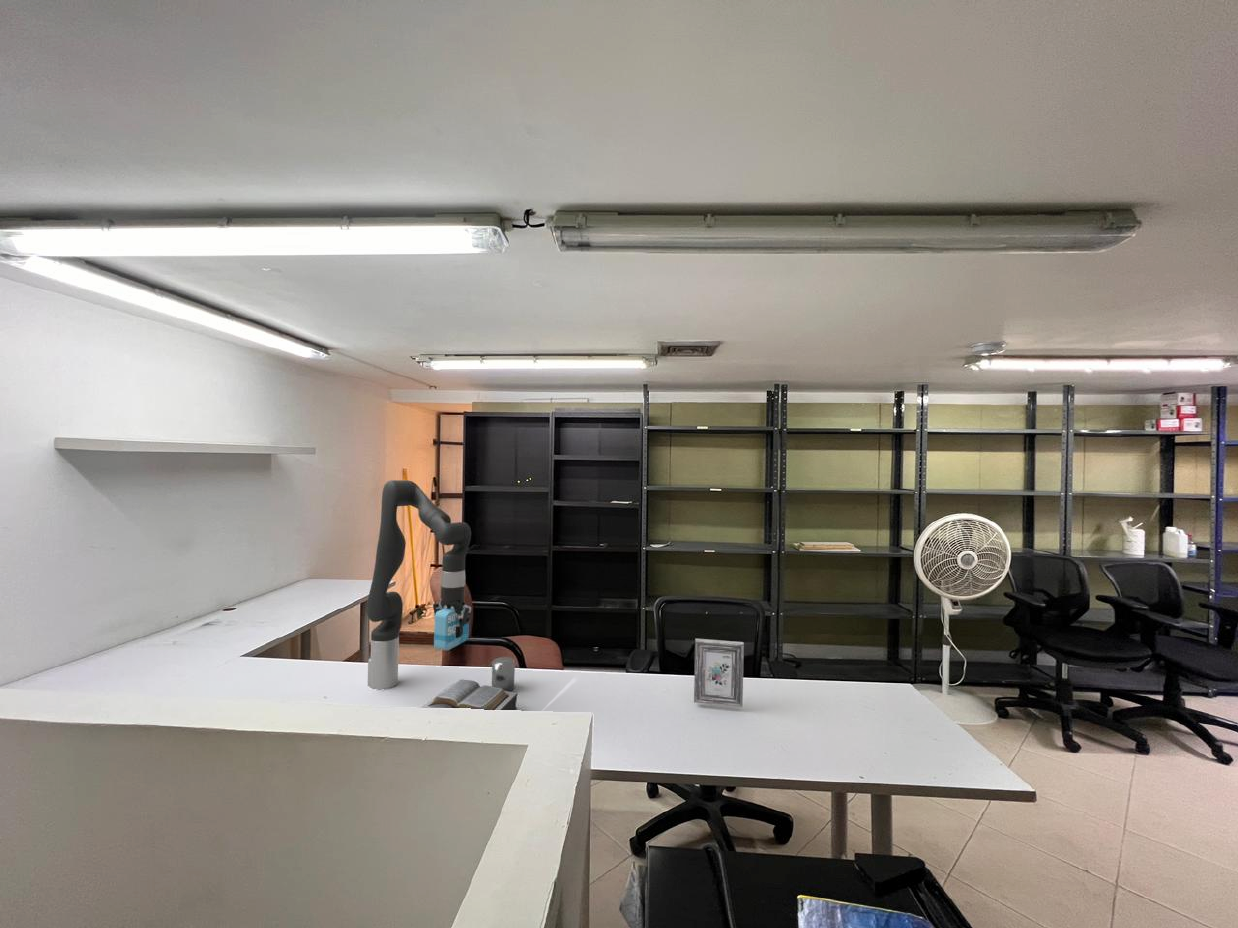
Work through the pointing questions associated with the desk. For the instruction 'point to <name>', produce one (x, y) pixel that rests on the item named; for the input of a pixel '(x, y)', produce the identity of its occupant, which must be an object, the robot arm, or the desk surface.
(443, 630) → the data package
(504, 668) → the grey domed cylinder
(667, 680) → the desk surface
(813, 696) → the desk surface
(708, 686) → the picture frame
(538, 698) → the desk surface
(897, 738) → the desk surface
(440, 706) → the bible
